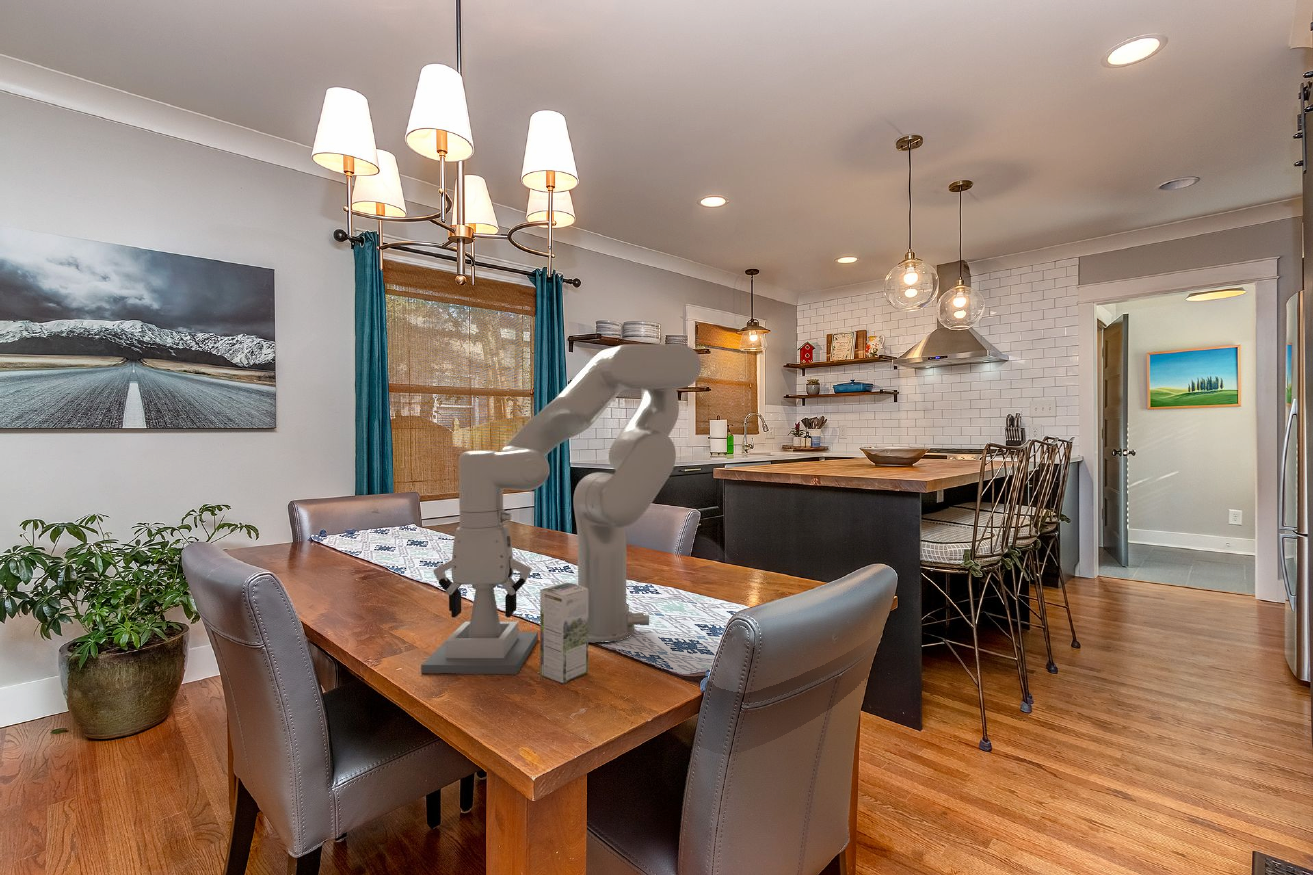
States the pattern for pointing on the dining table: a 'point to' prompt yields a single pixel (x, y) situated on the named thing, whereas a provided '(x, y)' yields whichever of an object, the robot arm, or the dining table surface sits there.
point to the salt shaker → (484, 613)
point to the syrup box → (564, 632)
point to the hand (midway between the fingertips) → (483, 615)
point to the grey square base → (482, 652)
